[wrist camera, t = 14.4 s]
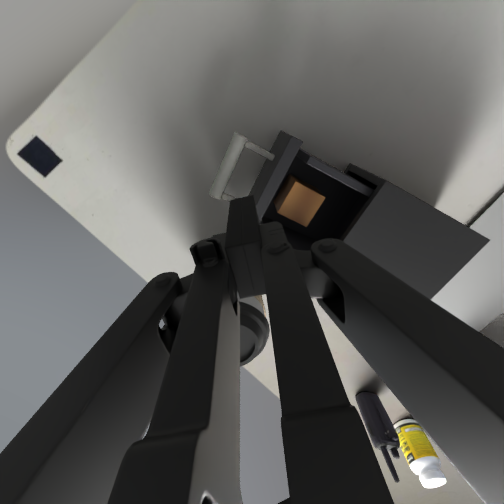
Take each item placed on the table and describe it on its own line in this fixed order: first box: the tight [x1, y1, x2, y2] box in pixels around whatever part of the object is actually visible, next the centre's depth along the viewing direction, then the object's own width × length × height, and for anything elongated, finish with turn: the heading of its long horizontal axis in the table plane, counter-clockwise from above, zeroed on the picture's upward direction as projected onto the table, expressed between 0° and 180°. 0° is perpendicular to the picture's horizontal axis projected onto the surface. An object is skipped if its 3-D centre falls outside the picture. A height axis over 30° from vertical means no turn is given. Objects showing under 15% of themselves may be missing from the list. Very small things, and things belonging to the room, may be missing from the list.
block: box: [274, 174, 326, 227], centre depth 31 cm, size 4×4×4 cm
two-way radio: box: [356, 392, 400, 483], centre depth 50 cm, size 6×4×15 cm
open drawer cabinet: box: [209, 131, 374, 251], centre depth 30 cm, size 18×11×8 cm, turn 64°
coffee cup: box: [237, 291, 269, 366], centre depth 34 cm, size 9×9×15 cm
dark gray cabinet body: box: [340, 163, 490, 300], centre depth 33 cm, size 15×13×10 cm
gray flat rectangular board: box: [431, 193, 504, 332], centre depth 42 cm, size 25×24×1 cm
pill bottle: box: [394, 419, 446, 488], centre depth 58 cm, size 6×6×11 cm
